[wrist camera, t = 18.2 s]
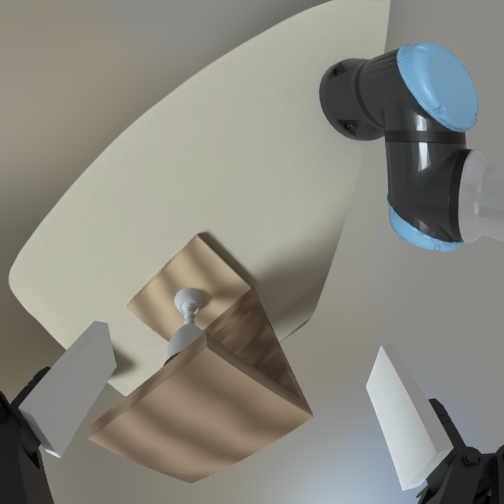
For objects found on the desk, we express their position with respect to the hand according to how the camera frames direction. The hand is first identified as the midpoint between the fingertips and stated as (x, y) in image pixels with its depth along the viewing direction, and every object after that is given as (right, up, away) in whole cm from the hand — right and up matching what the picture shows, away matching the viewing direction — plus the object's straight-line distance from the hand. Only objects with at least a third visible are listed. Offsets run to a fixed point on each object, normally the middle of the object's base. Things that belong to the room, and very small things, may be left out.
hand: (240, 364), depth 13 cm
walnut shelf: (-10, -3, +37) cm, 38 cm away
